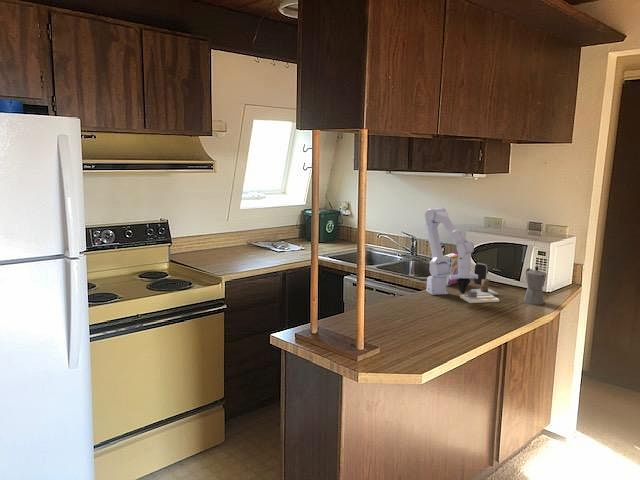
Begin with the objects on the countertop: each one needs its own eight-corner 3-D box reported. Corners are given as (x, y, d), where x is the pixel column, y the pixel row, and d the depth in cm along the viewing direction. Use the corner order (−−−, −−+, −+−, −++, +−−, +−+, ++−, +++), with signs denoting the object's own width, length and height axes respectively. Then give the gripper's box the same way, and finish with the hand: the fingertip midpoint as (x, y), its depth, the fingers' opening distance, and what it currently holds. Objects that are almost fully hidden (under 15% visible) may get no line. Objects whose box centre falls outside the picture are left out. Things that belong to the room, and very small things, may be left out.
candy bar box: (449, 286, 284) (451, 257, 281) (440, 284, 287) (442, 255, 284) (457, 282, 293) (459, 254, 290) (449, 281, 296) (451, 252, 293)
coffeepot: (550, 306, 252) (553, 269, 248) (531, 306, 250) (535, 269, 247) (533, 297, 267) (536, 262, 263) (515, 297, 265) (518, 262, 262)
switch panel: (469, 303, 254) (469, 299, 253) (459, 297, 263) (460, 293, 263) (499, 301, 257) (499, 298, 257) (488, 296, 267) (488, 292, 266)
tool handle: (482, 292, 271) (483, 281, 269) (479, 290, 274) (480, 279, 273) (489, 292, 271) (490, 281, 270) (486, 290, 274) (487, 279, 273)
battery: (488, 284, 291) (489, 264, 289) (484, 285, 288) (486, 265, 286) (476, 281, 296) (478, 262, 294) (473, 282, 293) (474, 262, 291)
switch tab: (470, 298, 257) (471, 292, 257) (468, 296, 260) (468, 290, 260) (476, 297, 258) (476, 291, 257) (473, 296, 261) (473, 290, 260)
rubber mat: (480, 295, 267) (480, 294, 267) (470, 290, 276) (471, 289, 276) (498, 295, 269) (498, 293, 269) (488, 289, 279) (488, 288, 278)
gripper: (454, 268, 250) (452, 296, 252) (481, 267, 253) (480, 294, 255) (447, 265, 257) (446, 292, 259) (474, 264, 260) (472, 290, 262)
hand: (462, 293), depth 257 cm, fingers closed
